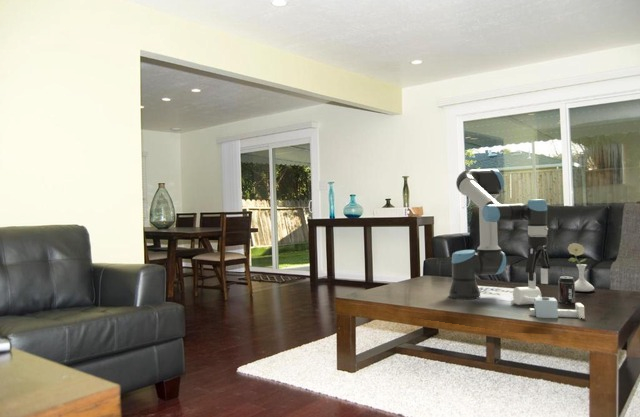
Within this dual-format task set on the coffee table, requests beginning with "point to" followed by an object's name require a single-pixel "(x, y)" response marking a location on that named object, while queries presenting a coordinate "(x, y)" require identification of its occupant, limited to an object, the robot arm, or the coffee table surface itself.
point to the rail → (567, 312)
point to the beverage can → (566, 290)
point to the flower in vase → (581, 282)
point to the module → (546, 307)
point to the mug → (525, 295)
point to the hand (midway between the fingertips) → (538, 286)
